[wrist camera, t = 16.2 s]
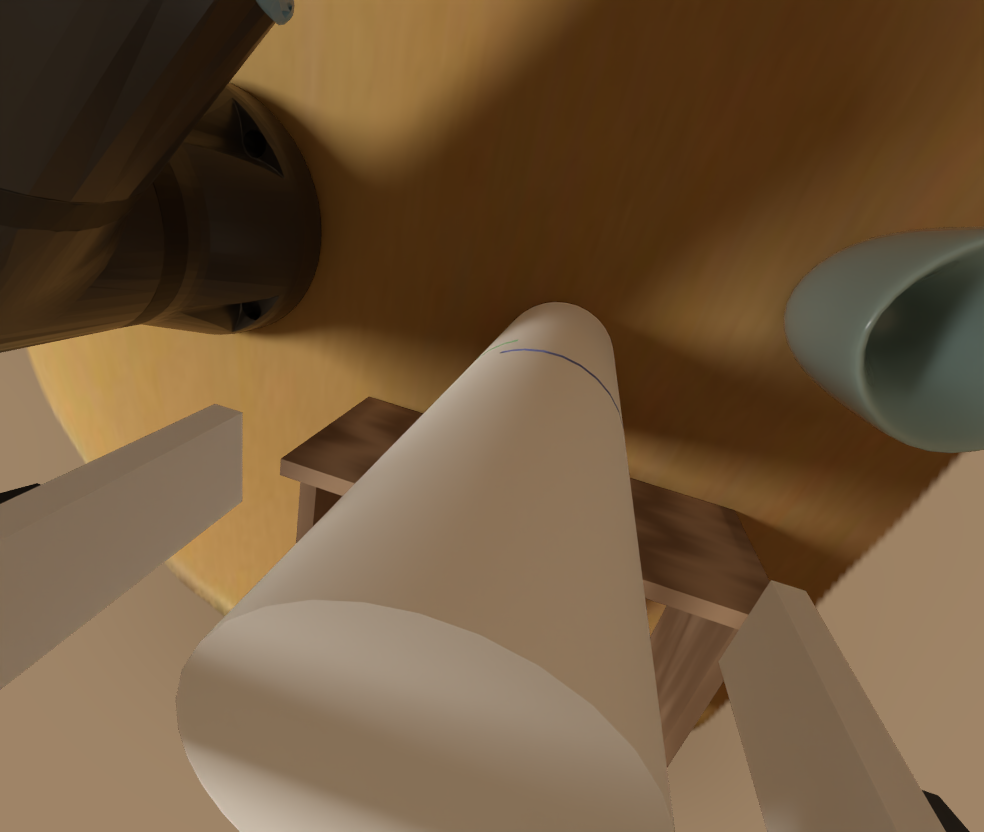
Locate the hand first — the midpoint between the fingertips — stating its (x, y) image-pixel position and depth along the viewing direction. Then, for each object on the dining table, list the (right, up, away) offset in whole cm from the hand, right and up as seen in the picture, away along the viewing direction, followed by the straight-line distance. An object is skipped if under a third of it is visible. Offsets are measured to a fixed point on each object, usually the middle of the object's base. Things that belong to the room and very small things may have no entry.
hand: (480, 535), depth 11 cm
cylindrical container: (+4, +7, +18) cm, 20 cm away
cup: (+19, +9, +14) cm, 25 cm away
